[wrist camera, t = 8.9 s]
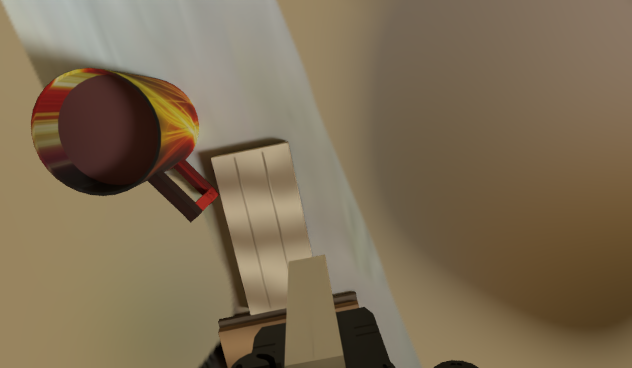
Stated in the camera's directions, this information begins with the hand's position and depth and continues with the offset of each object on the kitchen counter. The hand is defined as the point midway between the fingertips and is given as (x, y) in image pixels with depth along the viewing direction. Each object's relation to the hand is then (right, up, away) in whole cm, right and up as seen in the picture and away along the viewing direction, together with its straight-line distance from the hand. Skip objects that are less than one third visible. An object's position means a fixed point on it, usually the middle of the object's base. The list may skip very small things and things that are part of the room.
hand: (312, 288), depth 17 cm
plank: (-5, -1, +28) cm, 29 cm away
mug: (-15, +10, +26) cm, 32 cm away
